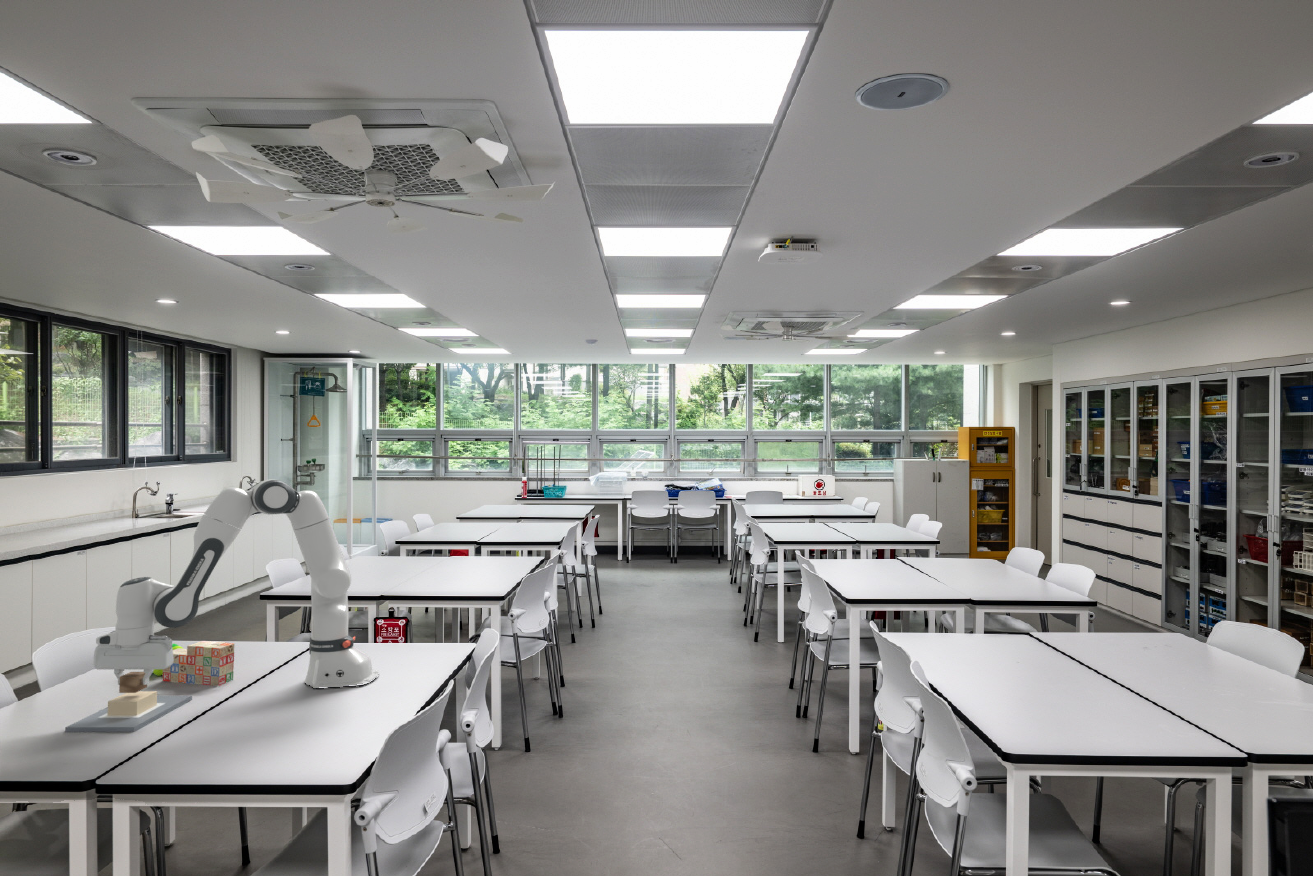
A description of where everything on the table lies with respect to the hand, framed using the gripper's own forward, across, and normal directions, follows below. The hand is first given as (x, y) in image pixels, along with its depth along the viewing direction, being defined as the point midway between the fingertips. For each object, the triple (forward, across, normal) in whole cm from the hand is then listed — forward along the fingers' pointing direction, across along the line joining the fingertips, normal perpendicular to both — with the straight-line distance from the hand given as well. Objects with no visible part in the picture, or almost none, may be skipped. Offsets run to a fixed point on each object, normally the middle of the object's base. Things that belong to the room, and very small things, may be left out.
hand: (133, 684), depth 195 cm
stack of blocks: (+9, 0, -30) cm, 31 cm away
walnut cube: (+2, 0, 0) cm, 2 cm away
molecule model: (+9, +16, -38) cm, 42 cm away
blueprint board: (+9, 0, 0) cm, 9 cm away
